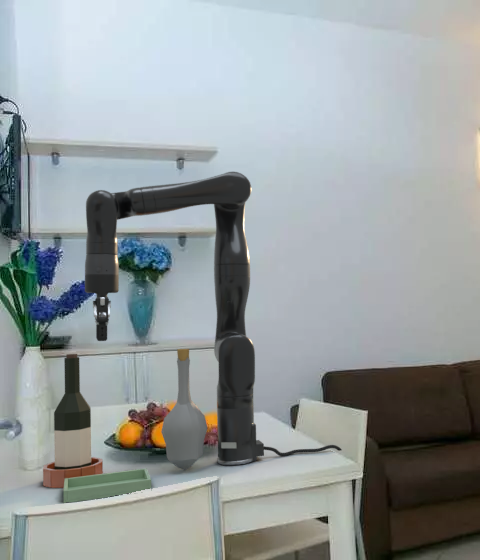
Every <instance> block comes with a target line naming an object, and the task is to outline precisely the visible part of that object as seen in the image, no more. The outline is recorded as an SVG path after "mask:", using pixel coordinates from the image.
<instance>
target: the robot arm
mask: <svg viewBox="0 0 480 560" xmlns="http://www.w3.org/2000/svg"><path fill="white" fill-rule="evenodd" d="M251 195H252V184H251V182H250V180H249V178H248V177H247V176H246V175H245V174H243V173H241V172H238V171H226V172H224V173H221V174H218V175H214V176H211V177H207V178H204V179H197V180H192V181H186V182H178V183H177V182H176V183H168V184H156V185H149V186H140V187H133V188H130V189H128V190H125V191H119V192H117V191H116V192H111V191H108V190H105V189H98V190H94V191H93V192H91V193H90V194H89V195H88V196H87V198H86V201H85V219H86V230H87V231H86V240H85V241H86V243H85V260H84V292H85V293H87V294H95V295H96V297H95V299H94V300H92V309H93V317H94V320H95V321H94V322H95V334H96V336H95V338H96V341H97V342H106V341H108V325H109V321H110V317H111V307H112V301H111V300H110V298H109V296H108V294H117V293H118V292H119V289H120V287H119V286H120V284H119V279H120V277H119V276H120V271H119V270H120V266H119V265H120V264H119V256H118V254H119V253H118V252H119V245H118V244H119V243H118V242H119V241H118V233H117V227H118V221H119V220H123V219H128V218H131V217H139V216H140V217H141V216H148V215H157V214H163V213H168V212H169V213H170V212H173V211H178V210H182V209H187V208H190V207H196V206H204V205H205V206H206V205H213V208H214V216H215V218H214V219H215V238H214V250H213V251H214V253H213V280H214V281H213V282H214V297H215V299H214V300H215V308H216V327H215V337H214V346H213V347H214V348H213V354H214V356H215V359H216V361H217V362H218V380H217V385H216V421H217V423H216V424H217V426H216V427H217V463H218V464H219V465H224V466H237V465H245V464H249V463H253V462H257V460H258V457H265V451H270V452H273V453H275V454H276V455H277V456H279V457H287V456H290V455H291V456H292V455H293V454H302V453H318V452H319V453H320V452H324V451H326V450H330V449H335V450H336V451H343V449H342V447H339V446H338V445H336V444H328V445H325V446H322V447H318V448H300V449H293V450H289V451H287V452H286V451H285V452H281V451H279V450H278V449H277V448H275V447H272V446H265V445H264V442H263V441H261V440H260V439H257V424H256V423H255V412H254V409H255V407H254V386H255V382H256V351H255V347H254V346H255V345H254V344H253V341H252V340H251V339H250V338H249V337H248V336H247V332H246V316H245V315H246V309H247V303H248V298H249V293H250V288H251V287H250V286H251V257H250V251H249V246H248V245H249V244H248V241H247V237H246V233H245V232H246V231H245V212H246V211H245V209H246V202H247V201H249V198H250V197H251Z"/></svg>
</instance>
